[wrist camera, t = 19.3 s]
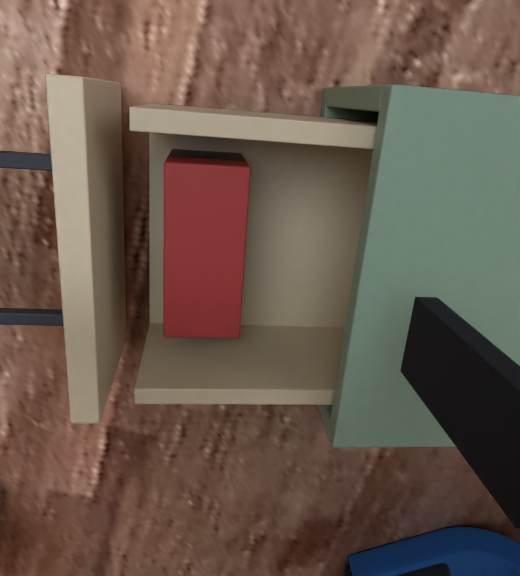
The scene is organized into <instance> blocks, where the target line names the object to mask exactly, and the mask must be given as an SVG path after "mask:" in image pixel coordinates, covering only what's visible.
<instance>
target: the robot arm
mask: <svg viewBox="0 0 520 576" xmlns="http://www.w3.org/2000/svg"><path fill="white" fill-rule="evenodd" d="M400 371H401V373H402V374H403V375H404V377H405V378H406V380H407V381H408V382H409V384H410V385H411V386H412V388H413V389H414V390H415V392H416V393H417V394H418V396H419V397H420V399H421V400H422V401H423V403H424V404H425V405H426V407H427V408H428V409H429V411H430V412H431V413H432V415H433V416H434V418H435V419H436V420H437V422H438V423H439V424H440V426H441V427H442V428H443V430H444V431H445V432H446V434H447V435H448V437H449V438H450V439H451V441H452V442H453V443H454V445H455V446H456V447H457V449H458V450H459V451H460V453H461V454H462V456H463V457H464V458H465V460H466V461H467V462H468V464H469V465H470V466H471V468H472V469H473V470H474V472H475V473H476V475H477V476H478V477H479V479H480V480H481V481H482V483H483V484H484V485H485V487H486V488H487V489H488V491H489V492H490V494H491V495H492V496H493V498H494V499H495V500H496V502H497V503H498V504H499V506H500V507H501V508H502V510H503V511H504V513H505V514H506V515H507V517H508V518H509V519H510V521H511V522H512V523H513V525H514V526H515V527H516V528H520V366H519V365H518V364H517V363H516V362H514V361H513V360H512V359H511V358H510V357H508V356H507V355H506V354H505V353H504V352H502V351H501V350H500V349H499V348H498V347H496V346H495V345H494V344H493V343H492V342H490V341H489V340H488V339H487V338H486V337H484V336H483V335H482V334H481V333H480V332H478V331H477V330H476V329H475V328H474V327H472V326H471V325H470V324H469V323H468V322H466V321H465V320H464V319H463V318H461V317H460V316H459V315H458V314H457V313H455V312H454V311H453V310H452V309H451V308H449V307H448V306H447V305H446V304H445V303H443V302H442V301H441V300H440V299H439V298H437V297H415V300H414V305H413V310H412V315H411V320H410V325H409V330H408V335H407V340H406V345H405V350H404V355H403V360H402V365H401V370H400Z"/></svg>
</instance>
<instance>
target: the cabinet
mask: <svg viewBox="0 0 520 576" xmlns="http://www.w3.org/2000/svg"><path fill="white" fill-rule="evenodd" d="M321 117H326V118H338V119H350V120H362V121H374V122H378V123H377V129H376V135H375V141H374V148H373V154H372V160H371V167H370V173H369V179H368V185H367V192H366V198H365V204H364V211H363V217H362V223H361V229H360V236H359V242H358V248H357V254H356V261H355V267H354V273H353V280H352V286H351V292H350V298H349V305H348V311H347V317H346V323H345V330H344V336H343V342H342V349H341V355H340V361H339V367H338V374H337V380H336V386H335V393H334V399H333V405H317V407H318V410H319V413H320V416H321V418H322V421H323V424H324V427H325V429H326V432H327V434H328V437H329V440H330V443H331V445H332V447H333V448H363V447H456V446H455V445H454V443H453V442H452V441H451V439H450V438H449V437H448V435H447V434H446V432H445V431H444V430H443V428H442V427H441V426H440V424H439V423H438V422H437V420H436V419H435V418H434V416H433V415H432V413H431V412H430V411H429V409H428V408H427V407H426V405H425V404H424V403H423V401H422V400H421V399H420V397H419V396H418V394H417V393H416V392H415V390H414V389H413V388H412V386H411V385H410V384H409V382H408V381H407V380H406V378H405V377H404V375H403V374H402V373H401V371H400V370H401V365H402V360H403V355H404V350H405V345H406V340H407V335H408V330H409V325H410V320H411V315H412V310H413V305H414V300H415V297H437V298H439V299H440V300H441V301H442V302H443V303H445V304H446V305H447V306H448V307H449V308H451V309H452V310H453V311H454V312H455V313H457V314H458V315H459V316H460V317H461V318H463V319H464V320H465V321H466V322H468V323H469V324H470V325H471V326H472V327H474V328H475V329H476V330H477V331H478V332H480V333H481V334H482V335H483V336H484V337H486V338H487V339H488V340H489V341H490V342H492V343H493V344H494V345H495V346H496V347H498V348H499V349H500V350H501V351H502V352H504V353H505V354H506V355H507V356H508V357H510V358H511V359H512V360H513V361H514V362H516V363H517V364H518V365H519V366H520V96H515V95H505V94H494V93H483V92H473V91H462V90H451V89H441V88H430V87H419V86H409V85H398V84H386V85H369V86H350V87H332V88H324V91H323V100H322V108H321Z"/></svg>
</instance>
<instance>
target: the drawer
mask: <svg viewBox="0 0 520 576" xmlns="http://www.w3.org/2000/svg"><path fill="white" fill-rule="evenodd" d="M45 79H46V93H47V107H48V120H49V134H50V147H51V154H42V153H27V152H13V151H0V168H14V169H30V170H46V171H52V175H53V188H54V202H55V216H56V229H57V243H58V256H59V270H60V284H61V297H62V310H55V309H19V308H0V324H6V325H48V326H64V338H65V352H66V365H67V379H68V393H69V406H70V420H71V423H99V422H100V419H101V416H102V413H103V410H104V407H105V404H106V400H107V397H108V394H109V391H110V388H111V385H112V381H113V378H114V375H115V372H116V369H117V366H118V362H119V359H120V356H121V353H122V350H123V347H124V344H125V340H126V294H125V248H124V201H123V155H122V109H121V83H120V82H115V81H108V80H101V79H94V78H87V77H80V76H69V75H57V74H46V75H45ZM377 123H378V122H374V121H362V120H350V119H338V118H326V117H314V116H301V115H289V114H277V113H265V112H253V111H241V110H229V109H217V108H205V107H193V106H181V105H169V104H157V103H149V104H143V105H137V106H131V107H129V126H130V131H136V132H149V327H148V332H147V336H146V340H145V344H144V349H143V353H142V357H141V361H140V366H139V370H138V374H137V378H136V383H135V387H134V403H135V404H274V405H333V399H334V393H335V386H336V380H337V374H338V367H339V361H340V355H341V349H342V342H343V336H344V330H345V323H346V317H347V311H348V305H349V298H350V292H351V286H352V280H353V273H354V267H355V261H356V254H357V248H358V242H359V236H360V229H361V223H362V217H363V211H364V204H365V198H366V192H367V185H368V179H369V173H370V167H371V160H372V154H373V148H374V141H375V135H376V129H377ZM172 149H185V150H201V151H216V152H232V153H241V154H242V155H243V157H244V158H245V160H246V162H247V163H248V165H249V166H250V168H251V176H250V191H249V206H248V221H247V237H246V252H245V267H244V282H243V297H242V313H241V328H240V337H239V338H188V337H164V335H163V246H164V162H165V160H166V159H167V157H168V155H169V153H170V152H171V150H172Z"/></svg>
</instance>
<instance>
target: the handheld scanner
mask: <svg viewBox="0 0 520 576" xmlns="http://www.w3.org/2000/svg"><path fill="white" fill-rule="evenodd" d="M348 560H349V564H350V569H347V570H345V571H344V574H345V576H520V543H519V542H517V541H515V540H513V539H511V538H509V537H507V536H504V535H501V534H498V533H495V532H492V531H489V530H485V529H479V528H473V527H449V528H444V529H440V530H437V531H433V532H430V533H426V534H423V535H419V536H416V537H412V538H409V539H405V540H402V541H398V542H395V543H391V544H388V545H384V546H381V547H377V548H374V549H370V550H367V551H363V552H360V553H356V554H353V555H350V556H349V557H348Z"/></svg>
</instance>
